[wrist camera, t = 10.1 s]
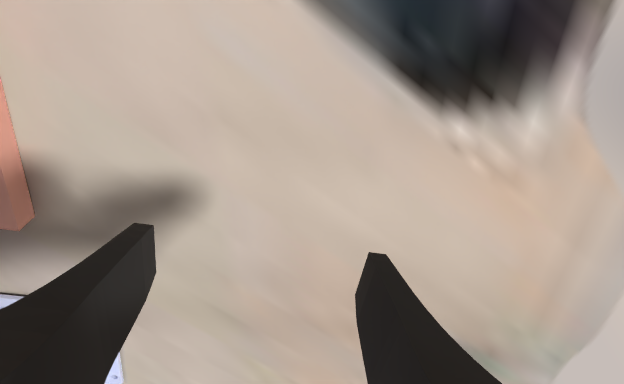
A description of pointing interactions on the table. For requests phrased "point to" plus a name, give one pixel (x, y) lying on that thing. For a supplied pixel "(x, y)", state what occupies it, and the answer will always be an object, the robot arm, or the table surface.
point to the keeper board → (12, 176)
